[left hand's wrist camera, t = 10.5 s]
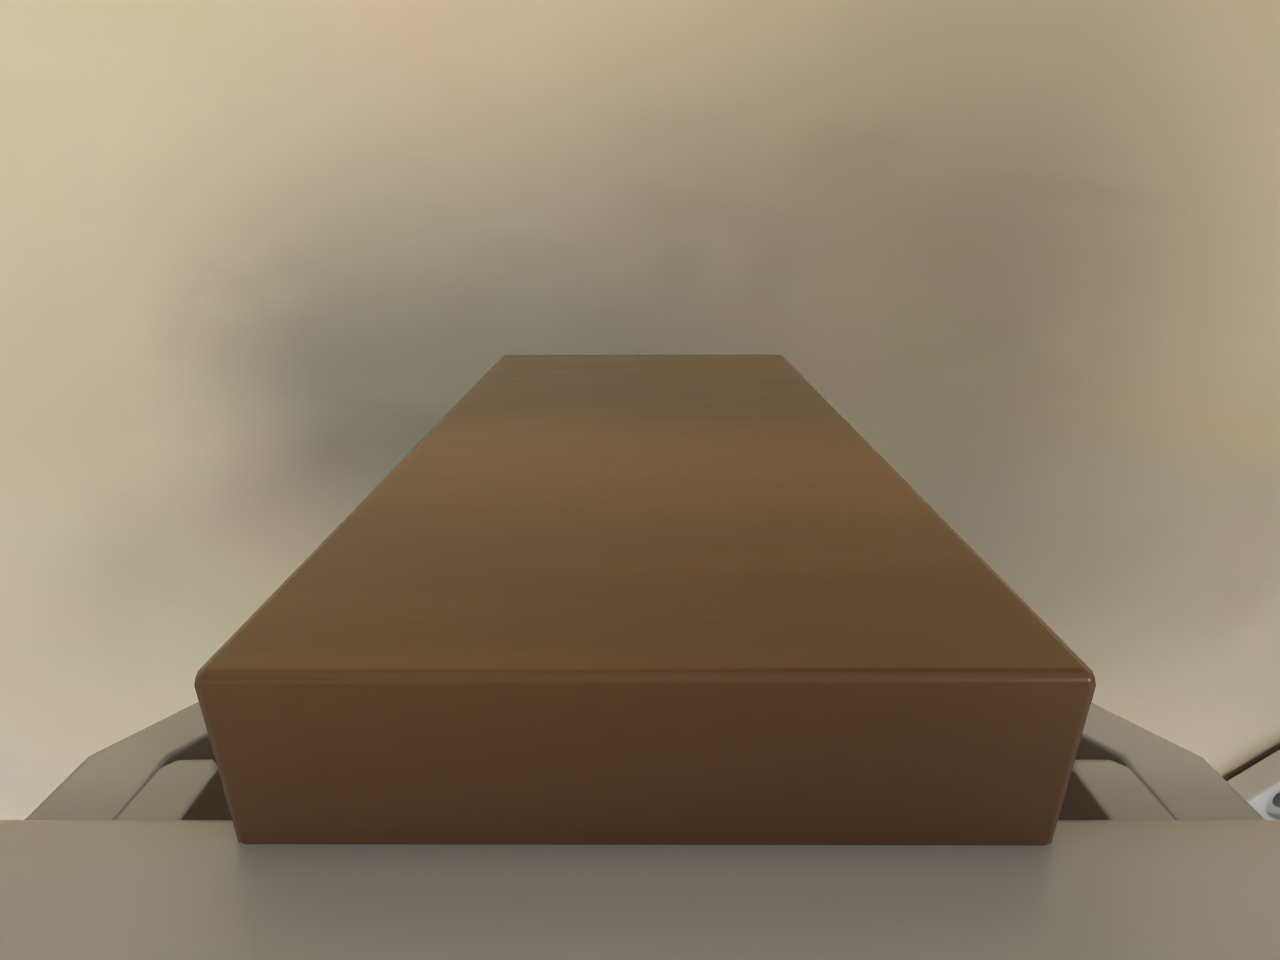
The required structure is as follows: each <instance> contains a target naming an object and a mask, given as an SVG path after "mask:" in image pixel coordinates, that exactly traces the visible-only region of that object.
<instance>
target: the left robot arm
mask: <svg viewBox="0 0 1280 960" xmlns="http://www.w3.org/2000/svg"><path fill="white" fill-rule="evenodd" d="M0 960H1280V750H1278V751H1276V752H1275V753H1273V754H1271V755H1270V756H1268V757H1266V758H1265V759H1263V760H1261V761H1260V762H1258V763H1256V764H1255V765H1253V766H1251V767H1250V768H1248V769H1246V770H1245V771H1243V772H1241V773H1240V774H1238V775H1236V776H1235V777H1233V778H1231V779H1230V780H1228V781H1225V780H1224V779H1223V778H1222V777H1221V776H1220V775H1219V774H1218V773H1217V772H1216V771H1215V770H1214V769H1213V768H1212V767H1211V766H1210V765H1209V764H1208V763H1207V762H1206V761H1205V760H1204V759H1203V758H1202V757H1200V756H1197V755H1195V754H1193V753H1191V752H1189V751H1187V750H1185V749H1183V748H1181V747H1179V746H1177V745H1175V744H1173V743H1171V742H1169V741H1167V740H1165V739H1163V738H1161V737H1159V736H1157V735H1155V734H1153V733H1151V732H1149V731H1147V730H1145V729H1143V728H1141V727H1139V726H1137V725H1135V724H1133V723H1131V722H1129V721H1127V720H1125V719H1123V718H1121V717H1119V716H1117V715H1115V714H1113V713H1111V712H1109V711H1107V710H1105V709H1103V708H1100V707H1098V706H1096V705H1094V704H1092V703H1091V704H1090V708H1089V711H1088V715H1087V719H1086V722H1085V726H1084V729H1083V733H1082V736H1081V740H1080V743H1079V747H1078V751H1077V754H1076V758H1075V761H1074V765H1073V768H1072V772H1071V775H1070V779H1069V783H1068V786H1067V790H1066V793H1065V797H1064V800H1063V804H1062V807H1061V811H1060V815H1059V818H1058V822H1057V825H1056V829H1055V832H1054V836H1053V839H1052V843H1050V844H1047V845H1045V846H1032V845H406V844H243V843H241V842H238V839H237V836H236V832H235V829H234V825H233V822H232V818H231V814H230V811H229V807H228V804H227V800H226V797H225V793H224V789H223V786H222V782H221V779H220V775H219V771H218V768H217V764H216V761H215V757H214V754H213V750H212V746H211V743H210V739H209V736H208V732H207V729H206V725H205V721H204V718H203V714H202V711H201V707H200V704H199V702H198V703H196V704H194V705H192V706H190V707H188V708H186V709H184V710H182V711H180V712H178V713H176V714H174V715H172V716H170V717H168V718H166V719H164V720H162V721H160V722H158V723H156V724H154V725H152V726H150V727H148V728H146V729H143V730H141V731H139V732H137V733H135V734H133V735H131V736H129V737H127V738H125V739H123V740H121V741H119V742H117V743H115V744H113V745H111V746H109V747H107V748H105V749H103V750H101V751H99V752H97V753H95V754H93V755H91V756H89V757H88V758H87V759H86V760H85V761H84V762H83V763H82V764H81V765H80V766H79V767H78V768H77V769H76V770H75V771H74V772H73V773H72V774H71V775H70V776H69V777H68V778H67V779H66V780H65V781H64V782H63V783H62V784H61V785H60V786H59V787H58V788H57V789H56V790H55V791H54V792H53V793H52V794H51V795H50V796H49V797H48V798H46V799H45V800H44V801H43V802H42V803H41V804H40V805H39V806H38V807H37V808H36V809H35V810H34V811H33V812H32V813H31V814H30V815H29V816H28V817H27V818H26V819H25V820H0Z"/></svg>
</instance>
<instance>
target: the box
mask: <svg viewBox="0 0 1280 960" xmlns="http://www.w3.org/2000/svg"><path fill="white" fill-rule="evenodd" d="M1095 686H1096V684H1095V677H1094V675H1093V672H1092V670H1091V669H1090V668H1089V667H1088V666H1087V665H1086V664H1085V663H1084V662H1083V661H1082V660H1081V659H1080V658H1079V657H1078V656H1077V655H1076V654H1075V653H1074V652H1073V651H1072V650H1071V649H1070V648H1069V647H1068V646H1067V645H1066V644H1065V643H1064V642H1063V641H1062V640H1061V639H1060V638H1059V637H1058V636H1057V635H1056V634H1055V633H1054V632H1053V631H1052V630H1051V629H1050V628H1049V627H1048V626H1047V625H1046V624H1045V623H1044V622H1043V621H1042V620H1041V619H1040V618H1039V616H1038V615H1037V614H1036V613H1035V612H1034V611H1033V610H1032V609H1031V608H1030V607H1029V606H1028V605H1027V604H1026V603H1025V602H1024V601H1023V600H1022V599H1021V598H1020V597H1019V596H1018V595H1017V594H1016V593H1015V592H1014V591H1013V590H1012V589H1011V588H1010V587H1009V586H1008V585H1007V584H1006V583H1005V582H1004V581H1003V580H1002V579H1001V578H1000V577H999V576H998V575H997V574H996V573H995V572H994V571H993V570H992V569H991V568H990V567H989V566H988V565H987V564H986V563H985V562H984V561H983V560H982V559H981V558H980V557H979V556H978V555H977V554H976V553H975V551H974V550H973V549H972V548H971V547H970V546H969V545H968V544H967V543H966V542H965V541H964V540H963V539H962V538H961V537H960V536H959V535H958V534H957V533H956V532H955V531H954V530H953V529H952V528H951V527H950V526H949V525H948V524H947V523H946V522H945V521H944V520H943V519H942V518H941V517H940V516H939V515H938V514H937V513H936V512H935V511H934V510H933V509H932V508H931V507H930V506H929V505H928V504H927V503H926V502H925V501H924V500H923V499H922V498H921V497H920V496H919V495H918V494H917V493H916V492H915V491H914V490H913V489H912V488H911V487H910V485H909V484H908V483H907V482H906V481H905V480H904V479H903V478H902V477H901V476H900V475H899V474H898V473H897V472H896V471H895V470H894V469H893V468H892V467H891V466H890V465H889V464H888V463H887V462H886V461H885V460H884V459H883V458H882V457H881V456H880V455H879V454H878V453H877V452H876V451H875V450H874V449H873V448H872V447H871V446H870V445H869V444H868V443H867V442H866V441H865V440H864V439H863V438H862V437H861V436H860V435H859V434H858V433H857V432H856V431H855V430H854V429H853V428H852V427H851V426H850V425H849V424H848V423H847V422H846V421H845V419H844V418H843V417H842V416H841V415H840V414H839V413H838V412H837V411H836V410H835V409H834V408H833V407H832V406H831V405H830V404H829V403H828V402H827V401H826V400H825V399H824V398H823V397H822V396H821V395H820V394H819V393H818V392H817V391H816V390H815V389H814V388H813V387H812V386H811V385H810V384H809V383H808V382H807V381H806V380H805V379H804V378H803V377H802V376H801V375H800V374H799V373H798V372H797V371H796V370H795V369H794V368H793V367H792V366H791V365H790V364H789V363H788V362H787V361H786V360H785V359H784V358H783V357H782V356H781V355H505V356H503V357H502V358H501V359H500V360H499V361H498V362H497V363H496V364H495V365H494V366H493V367H492V368H491V370H490V371H489V372H488V373H487V374H486V375H485V376H484V377H483V378H482V379H481V380H480V381H479V382H478V383H477V384H476V385H475V386H474V387H473V388H472V389H471V390H470V391H469V392H468V393H467V394H466V395H465V396H464V397H463V398H462V399H461V400H460V401H459V403H458V404H457V405H456V406H455V407H454V408H453V409H452V410H451V411H450V412H449V413H448V414H447V415H446V416H445V417H444V418H443V419H442V420H441V421H440V422H439V423H438V424H437V425H436V426H435V427H434V428H433V429H432V430H431V431H430V432H429V433H428V435H427V436H426V437H425V438H424V439H423V440H422V441H421V442H420V443H419V444H418V445H417V446H416V447H415V448H414V449H413V450H412V451H411V452H410V453H409V454H408V455H407V456H406V457H405V458H404V459H403V460H402V461H401V462H400V463H399V464H398V465H397V466H396V468H395V469H394V470H393V471H392V472H391V473H390V474H389V475H388V476H387V477H386V478H385V479H384V480H383V481H382V482H381V483H380V484H379V485H378V486H377V487H376V488H375V489H374V490H373V491H372V492H371V493H370V494H369V495H368V496H367V497H366V498H365V500H364V501H363V502H362V503H361V504H360V505H359V506H358V507H357V508H356V509H355V510H354V511H353V512H352V513H351V514H350V515H349V516H348V517H347V518H346V519H345V520H344V521H343V522H342V523H341V524H340V525H339V526H338V527H337V528H336V529H335V530H334V531H333V533H332V534H331V535H330V536H329V537H328V538H327V539H326V540H325V541H324V542H323V543H322V544H321V545H320V546H319V547H318V548H317V549H316V550H315V551H314V552H313V553H312V554H311V555H310V556H309V557H308V558H307V559H306V560H305V561H304V562H303V563H302V564H301V566H300V567H299V568H298V569H297V570H296V571H295V572H294V573H293V574H292V575H291V576H290V577H289V578H288V579H287V580H286V581H285V582H284V583H283V584H282V585H281V586H280V587H279V588H278V589H277V590H276V591H275V592H274V593H273V594H272V595H271V596H270V598H269V599H268V600H267V601H266V602H265V603H264V604H263V605H262V606H261V607H260V608H259V609H258V610H257V611H256V612H255V613H254V614H253V615H252V616H251V617H250V618H249V619H248V620H247V621H246V622H245V623H244V624H243V625H242V626H241V627H240V628H239V629H238V631H237V632H236V633H235V634H234V635H233V636H232V637H231V638H230V639H229V640H228V641H227V642H226V643H225V644H224V645H223V646H222V647H221V648H220V649H219V650H218V651H217V652H216V653H215V654H214V655H213V656H212V657H211V658H210V659H209V660H208V661H207V663H206V664H205V665H204V666H203V667H202V668H201V669H200V670H199V671H198V673H197V675H196V678H195V689H196V693H197V696H198V700H199V704H200V707H201V711H202V714H203V718H204V721H205V725H206V729H207V732H208V736H209V739H210V743H211V746H212V750H213V754H214V757H215V761H216V764H217V768H218V771H219V775H220V779H221V782H222V786H223V789H224V793H225V797H226V800H227V804H228V807H229V811H230V814H231V818H232V822H233V825H234V829H235V832H236V836H237V839H238V842H241V843H243V844H406V845H1032V846H1045V845H1047V844H1050V843H1052V839H1053V836H1054V832H1055V829H1056V825H1057V822H1058V818H1059V815H1060V811H1061V807H1062V804H1063V800H1064V797H1065V793H1066V790H1067V786H1068V783H1069V779H1070V775H1071V772H1072V768H1073V765H1074V761H1075V758H1076V754H1077V751H1078V747H1079V743H1080V740H1081V736H1082V733H1083V729H1084V726H1085V722H1086V719H1087V715H1088V711H1089V708H1090V704H1091V701H1092V697H1093V694H1094V690H1095Z"/></svg>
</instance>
